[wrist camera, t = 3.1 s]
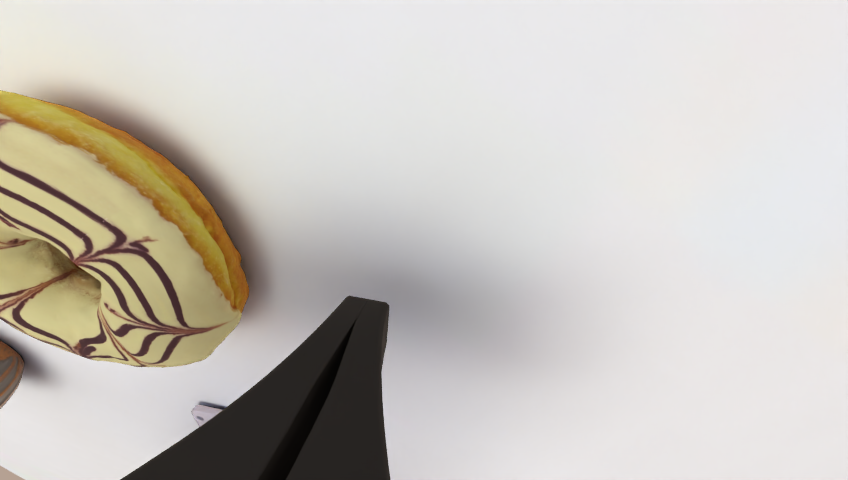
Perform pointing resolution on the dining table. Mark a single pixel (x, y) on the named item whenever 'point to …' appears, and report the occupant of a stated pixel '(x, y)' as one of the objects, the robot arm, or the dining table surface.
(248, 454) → the robot arm
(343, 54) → the dining table surface
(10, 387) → the vase
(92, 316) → the decorated donut
